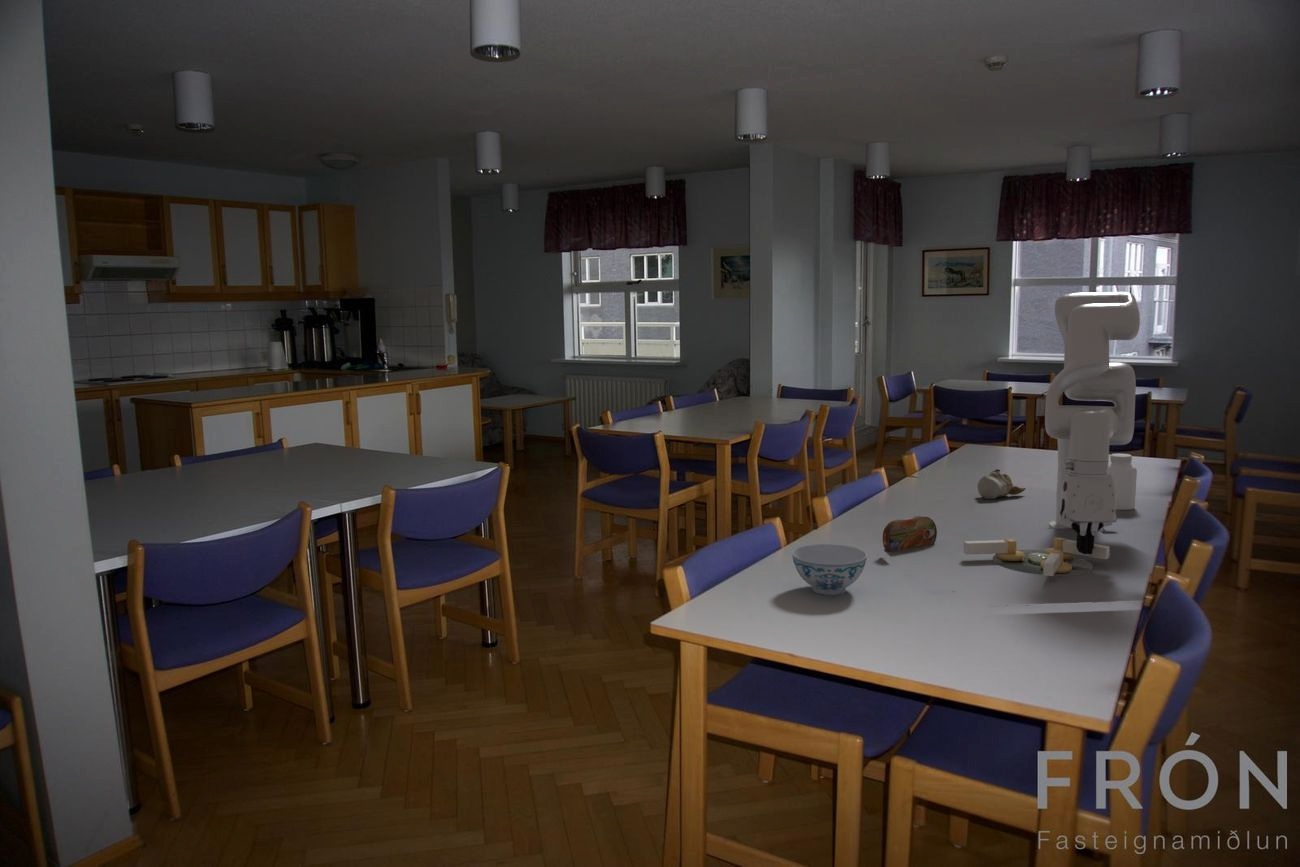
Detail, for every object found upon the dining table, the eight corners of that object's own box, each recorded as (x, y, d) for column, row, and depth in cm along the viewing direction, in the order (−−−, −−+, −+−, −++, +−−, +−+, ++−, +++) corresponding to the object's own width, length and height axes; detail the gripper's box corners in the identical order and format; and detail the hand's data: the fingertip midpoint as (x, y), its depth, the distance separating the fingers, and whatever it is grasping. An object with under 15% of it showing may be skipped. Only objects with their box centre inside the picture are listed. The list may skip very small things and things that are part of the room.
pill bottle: (1104, 509, 249) (1106, 456, 247) (1101, 503, 256) (1104, 452, 254) (1136, 511, 246) (1139, 457, 244) (1133, 505, 253) (1135, 453, 251)
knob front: (1043, 563, 193) (1043, 546, 192) (1073, 567, 189) (1074, 549, 189) (1031, 579, 182) (1032, 561, 181) (1063, 583, 179) (1064, 565, 178)
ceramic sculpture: (968, 468, 268) (996, 465, 277) (966, 496, 269) (994, 492, 278) (1000, 473, 259) (1029, 470, 268) (998, 502, 260) (1026, 498, 269)
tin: (889, 559, 206) (889, 523, 204) (879, 555, 208) (880, 520, 207) (937, 549, 212) (938, 515, 211) (927, 546, 215) (928, 512, 214)
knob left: (1017, 553, 201) (1017, 536, 201) (1029, 560, 195) (1029, 543, 195) (959, 555, 201) (960, 538, 200) (970, 562, 195) (970, 545, 194)
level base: (1064, 554, 205) (1064, 541, 205) (1111, 580, 186) (1111, 565, 185) (977, 557, 205) (978, 543, 204) (1016, 583, 185) (1016, 568, 185)
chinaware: (851, 606, 174) (852, 567, 173) (780, 594, 182) (780, 557, 181) (876, 585, 186) (876, 549, 185) (808, 575, 194) (808, 540, 193)
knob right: (1040, 555, 198) (1041, 539, 198) (1052, 550, 202) (1052, 534, 202) (1101, 567, 189) (1102, 549, 188) (1112, 561, 193) (1113, 544, 193)
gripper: (1061, 471, 186) (1058, 557, 188) (1133, 470, 186) (1129, 556, 188) (1045, 465, 193) (1042, 549, 195) (1113, 464, 193) (1110, 547, 195)
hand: (1084, 552), depth 191 cm, fingers closed
